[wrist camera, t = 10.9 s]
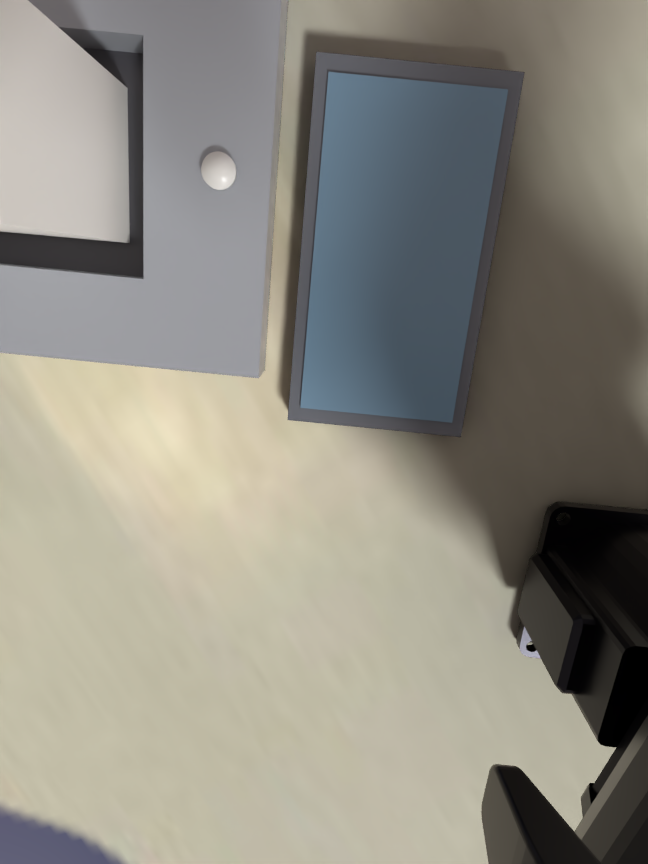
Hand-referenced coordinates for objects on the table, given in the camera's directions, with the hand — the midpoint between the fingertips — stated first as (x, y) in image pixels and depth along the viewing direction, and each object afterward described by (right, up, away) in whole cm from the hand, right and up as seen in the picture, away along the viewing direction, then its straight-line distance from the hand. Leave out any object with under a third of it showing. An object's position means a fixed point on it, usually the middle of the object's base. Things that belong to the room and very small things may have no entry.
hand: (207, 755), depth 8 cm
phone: (+4, +11, +9) cm, 15 cm away
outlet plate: (-7, +14, +9) cm, 17 cm away
